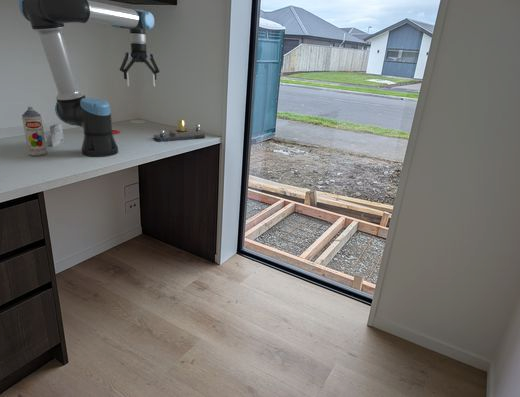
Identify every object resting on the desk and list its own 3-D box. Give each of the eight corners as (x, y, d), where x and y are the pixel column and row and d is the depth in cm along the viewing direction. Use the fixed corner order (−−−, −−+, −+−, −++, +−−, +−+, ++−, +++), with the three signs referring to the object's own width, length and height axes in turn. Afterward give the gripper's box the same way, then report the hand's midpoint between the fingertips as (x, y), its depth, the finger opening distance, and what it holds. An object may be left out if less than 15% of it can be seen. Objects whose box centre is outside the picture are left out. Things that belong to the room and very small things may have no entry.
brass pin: (179, 139, 198) (179, 120, 195) (176, 137, 201) (176, 119, 198) (186, 138, 200) (186, 120, 197) (183, 137, 203) (183, 119, 200)
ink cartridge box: (47, 146, 168) (44, 125, 164) (59, 141, 178) (56, 121, 175) (53, 147, 168) (50, 126, 164) (64, 142, 178) (61, 122, 175)
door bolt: (160, 141, 190) (159, 128, 187) (154, 138, 197) (153, 125, 194) (204, 138, 204) (204, 125, 201) (197, 135, 211) (197, 123, 208)
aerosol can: (29, 157, 151) (20, 108, 144) (28, 153, 156) (19, 106, 149) (48, 155, 155) (40, 108, 147) (46, 151, 160) (38, 105, 152)
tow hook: (109, 131, 209) (100, 133, 200) (108, 108, 205) (98, 109, 196) (123, 132, 208) (114, 135, 199) (121, 109, 204) (113, 111, 195)
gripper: (159, 44, 195) (161, 85, 203) (111, 41, 182) (114, 85, 190) (164, 44, 189) (165, 86, 197) (114, 41, 176) (118, 86, 184)
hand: (140, 86), depth 193 cm, fingers open, 13 cm apart
